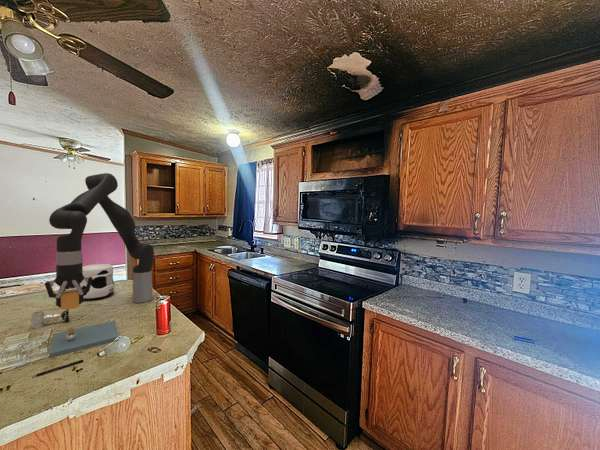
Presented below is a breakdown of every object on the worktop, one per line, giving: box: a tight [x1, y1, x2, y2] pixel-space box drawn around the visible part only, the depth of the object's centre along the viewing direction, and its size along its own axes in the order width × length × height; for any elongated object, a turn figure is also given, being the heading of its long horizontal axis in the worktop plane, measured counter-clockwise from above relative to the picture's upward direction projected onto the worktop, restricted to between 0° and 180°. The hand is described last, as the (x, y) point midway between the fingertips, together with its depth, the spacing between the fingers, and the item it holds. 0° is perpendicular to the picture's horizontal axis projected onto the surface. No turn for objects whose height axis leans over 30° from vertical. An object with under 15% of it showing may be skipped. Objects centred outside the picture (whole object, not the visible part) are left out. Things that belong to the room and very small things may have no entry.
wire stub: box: [67, 328, 76, 341], centre depth 99 cm, size 3×3×4 cm
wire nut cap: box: [60, 289, 80, 311], centre depth 98 cm, size 5×5×6 cm
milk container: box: [80, 263, 116, 300], centre depth 148 cm, size 17×17×18 cm
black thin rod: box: [31, 359, 84, 379], centre depth 83 cm, size 12×1×1 cm, turn 137°
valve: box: [30, 309, 70, 330], centre depth 113 cm, size 7×7×12 cm
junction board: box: [48, 320, 119, 358], centre depth 103 cm, size 20×18×2 cm
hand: (70, 305), depth 98 cm, fingers closed on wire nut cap, 5 cm apart
